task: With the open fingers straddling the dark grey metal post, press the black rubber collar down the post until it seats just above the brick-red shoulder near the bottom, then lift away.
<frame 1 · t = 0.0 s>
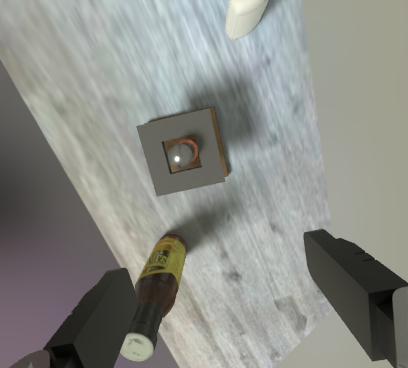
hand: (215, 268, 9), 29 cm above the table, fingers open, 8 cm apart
post: (187, 150, 37), on the table
eye dropper bottle: (242, 24, 33), on the table
sauce bottle: (171, 247, 42), on the table
collar: (182, 154, 29), point 8 cm above the table, slide at 4.0 cm
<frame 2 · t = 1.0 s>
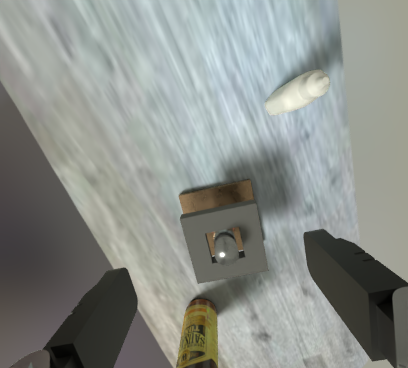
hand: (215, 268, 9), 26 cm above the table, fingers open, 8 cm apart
post: (221, 219, 36), on the table
eye dropper bottle: (281, 100, 32), on the table
sauce bottle: (200, 309, 41), on the table
collar: (225, 242, 29), point 8 cm above the table, slide at 4.0 cm
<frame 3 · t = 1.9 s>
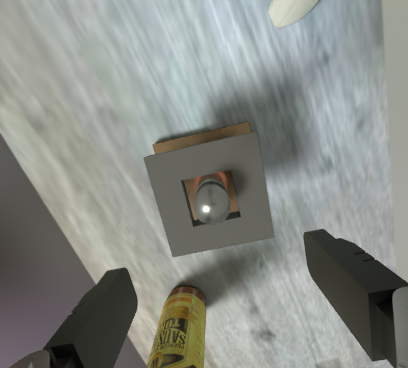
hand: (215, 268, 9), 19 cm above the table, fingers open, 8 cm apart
post: (210, 178, 28), on the table
eye dropper bottle: (291, 6, 23), on the table
sauce bottle: (185, 300, 32), on the table
collar: (211, 196, 20), point 8 cm above the table, slide at 4.0 cm
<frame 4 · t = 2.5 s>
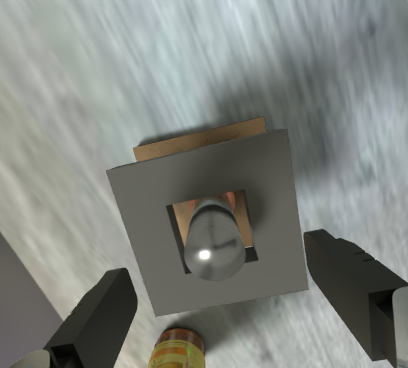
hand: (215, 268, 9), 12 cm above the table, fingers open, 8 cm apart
post: (211, 192, 21), on the table
sauce bottle: (179, 343, 26), on the table
collar: (213, 227, 13), point 8 cm above the table, slide at 4.0 cm
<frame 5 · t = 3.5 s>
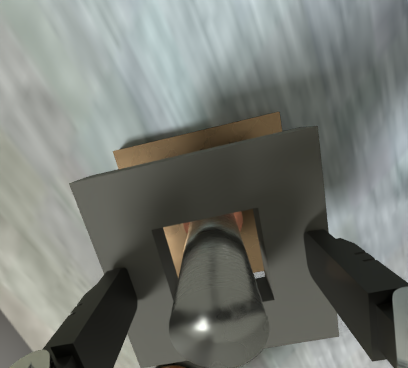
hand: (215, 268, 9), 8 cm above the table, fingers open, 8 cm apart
post: (211, 206, 17), on the table
collar: (214, 256, 10), point 7 cm above the table, slide at 3.1 cm, touching gripper
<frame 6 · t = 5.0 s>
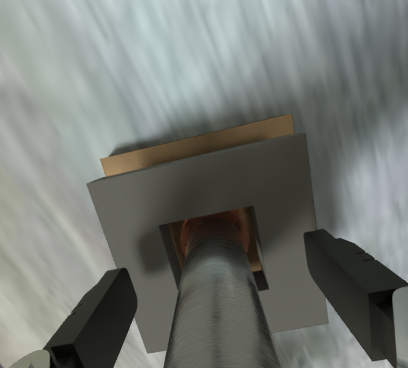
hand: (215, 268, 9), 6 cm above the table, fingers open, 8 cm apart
post: (213, 220, 15), on the table
collar: (215, 249, 11), point 4 cm above the table, slide at -0.1 cm
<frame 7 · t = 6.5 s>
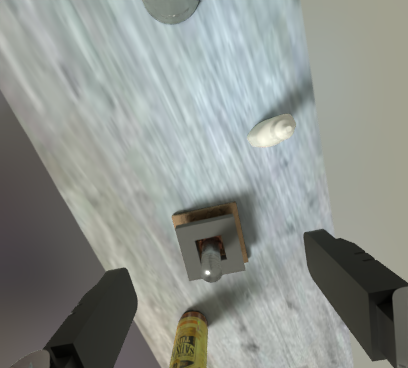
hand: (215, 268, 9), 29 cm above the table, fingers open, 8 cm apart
post: (210, 237, 40), on the table
eye dropper bottle: (262, 132, 36), on the table
sauce bottle: (192, 321, 44), on the table
collar: (210, 247, 36), point 4 cm above the table, slide at -0.1 cm
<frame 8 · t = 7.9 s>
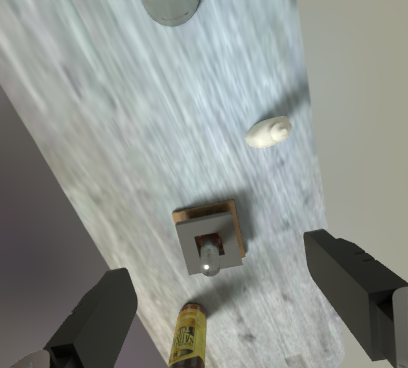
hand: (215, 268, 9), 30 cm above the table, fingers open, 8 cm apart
post: (209, 233, 42), on the table
eye dropper bottle: (259, 132, 37), on the table
sauce bottle: (192, 313, 46), on the table
collar: (209, 243, 38), point 4 cm above the table, slide at -0.1 cm
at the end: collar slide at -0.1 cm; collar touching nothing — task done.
